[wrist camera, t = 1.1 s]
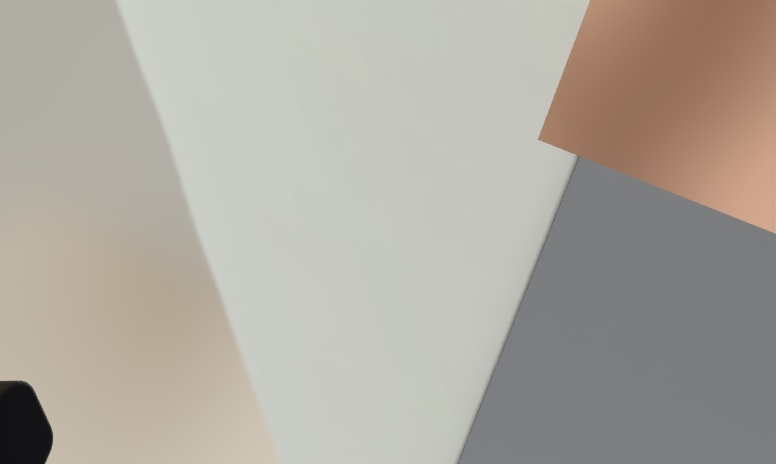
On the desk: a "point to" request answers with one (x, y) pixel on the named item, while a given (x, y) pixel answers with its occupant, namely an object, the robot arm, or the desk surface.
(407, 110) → the desk surface
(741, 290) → the rubber mat
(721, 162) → the tall block
